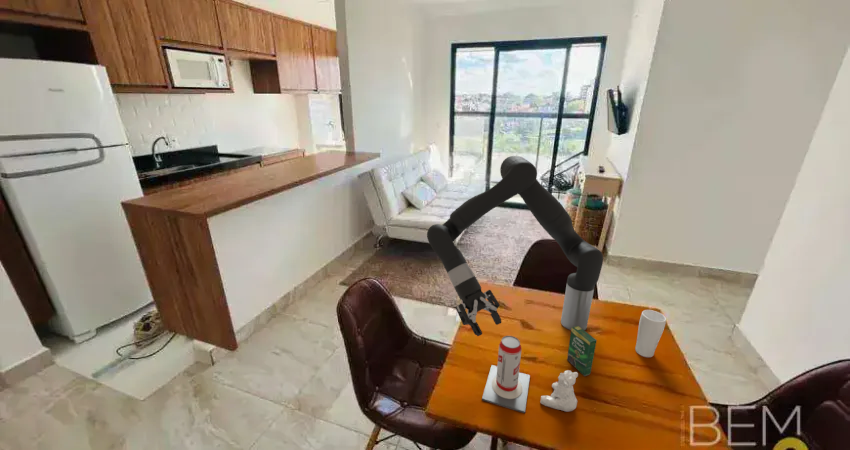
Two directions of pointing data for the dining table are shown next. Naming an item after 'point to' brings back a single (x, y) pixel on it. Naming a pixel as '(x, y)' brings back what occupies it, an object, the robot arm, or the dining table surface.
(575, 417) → the dining table surface
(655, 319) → the drinking glass
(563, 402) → the seated beast figurine
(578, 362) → the coffee box
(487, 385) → the card
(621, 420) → the dining table surface
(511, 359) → the beer can
